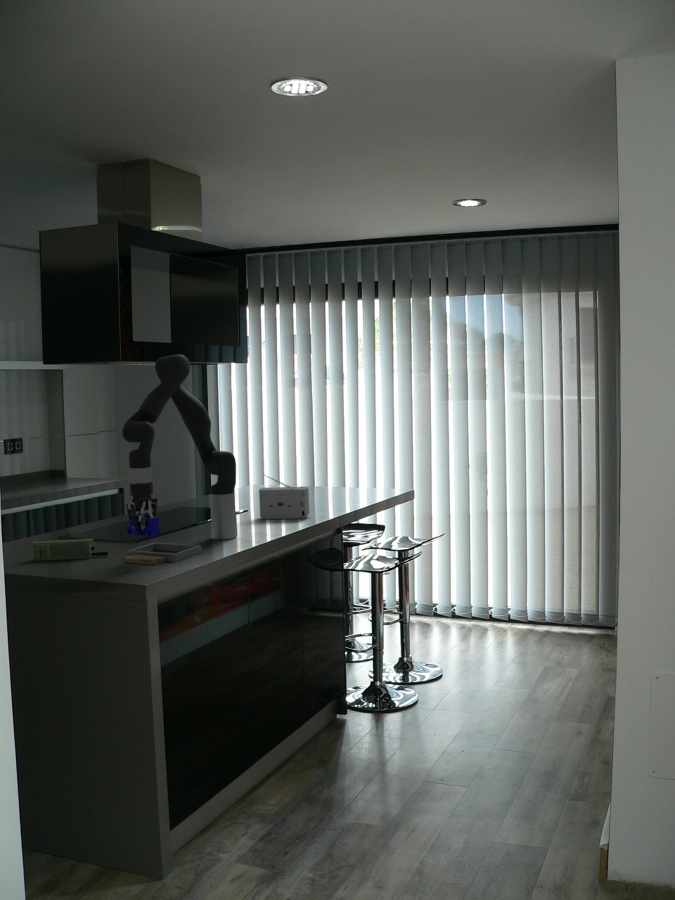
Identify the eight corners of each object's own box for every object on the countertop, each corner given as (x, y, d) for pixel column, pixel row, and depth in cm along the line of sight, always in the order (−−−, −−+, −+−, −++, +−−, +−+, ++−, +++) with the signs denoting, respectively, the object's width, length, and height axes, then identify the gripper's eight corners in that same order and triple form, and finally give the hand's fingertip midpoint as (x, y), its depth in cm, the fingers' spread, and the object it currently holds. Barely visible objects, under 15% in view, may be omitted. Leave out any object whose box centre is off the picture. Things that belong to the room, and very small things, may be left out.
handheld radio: (36, 559, 298) (109, 555, 300) (33, 562, 295) (107, 558, 297) (34, 541, 298) (107, 537, 300) (32, 543, 294) (106, 539, 296)
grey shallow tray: (155, 549, 308) (154, 542, 308) (201, 552, 300) (201, 545, 299) (127, 557, 295) (127, 550, 295) (175, 561, 286) (175, 554, 286)
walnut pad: (134, 559, 293) (134, 554, 292) (165, 561, 287) (165, 557, 287) (125, 562, 288) (124, 557, 288) (156, 564, 282) (155, 560, 282)
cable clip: (127, 533, 289) (126, 516, 288) (138, 531, 292) (137, 514, 292) (148, 537, 281) (147, 519, 280) (159, 535, 284) (158, 517, 284)
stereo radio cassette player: (309, 516, 370) (308, 470, 368) (307, 519, 361) (305, 472, 360) (262, 517, 372) (260, 471, 370) (258, 520, 364) (256, 473, 362)
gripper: (145, 478, 293) (148, 526, 295) (117, 483, 280) (120, 534, 282) (163, 478, 290) (165, 528, 291) (136, 484, 277) (138, 535, 279)
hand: (143, 530), depth 287 cm, fingers closed on cable clip, 4 cm apart
